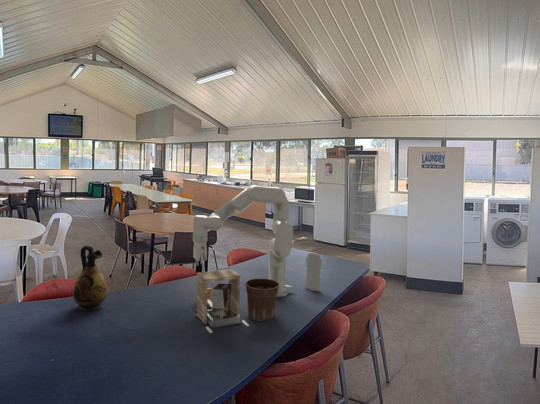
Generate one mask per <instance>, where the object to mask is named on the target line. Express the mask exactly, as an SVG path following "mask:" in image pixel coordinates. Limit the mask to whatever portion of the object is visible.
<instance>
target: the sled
mask: <svg viewBox="0 0 540 404" xmlns="http://www.w3.org/2000/svg"><path fill="white" fill-rule="evenodd" d="M211 300H212V288H211V287H207V307H209V308H210V309H211V310H207V323H208V324H209V325H210V326H211V328H212V329H214V328H220V327H225V326H231V325H236V324H241V323H242V319H241V315H240V314H239V315H238V314H237V313H236V312H235V311H234V310H233V309H232V308H231V317H230V318H225V319H219V320H213V319H212V301H211Z"/></svg>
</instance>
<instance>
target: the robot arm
mask: <svg viewBox="0 0 540 404" xmlns="http://www.w3.org/2000/svg"><path fill="white" fill-rule="evenodd" d="M255 202H256V203H261V204H262V203H263V204H272V206H273V219H272V227H271V228H272V229H271V230H272V232H273V233H274V234H275V235H274V236H275V237H273V238H272V239H271V240H270V241H269V243H268V278H267V279H271V280H274V281H277V282H278V283H279V284H280V286H279V287H278V293H277V296H276V298H282V297H285V296H288V292H289V291H288V290H292V289H293V288H294V286H293V285H288V284H286V272H287V271H286V269H287V258H288V257H289V256H290V255H291V253H292V245H293V238H294V226H292V224H291V222H290V221H289V220H290V203H289V200H288V198H287V196H286V192H285V191H284V189H283V188H280V187H278V186H261V185H257V184H251V185H249V186H247V187H246V188H244V190H242V191H241V192H239V193H238V194H237V195H236V196H234V197H233V198H232V199H231V200H229V201H227V202H226V203H224V204H223V205H222V206H220V207H219V208H217V209H216V210H215V211H213V212H212V213H211V214H210V215H209V216H207V215H205V214H204V215H203V214H197V215H194V216H193V227H192V242H193V248H192V250H193V251H192V252H193V253H192V254H193V255H192V257H193V259H194V260H195V273H196V274H197V273H200V272H203V264H204V261H207V260H208V246H207V242H208V231H209V230H210V231H211V230H212V231H218V230H221V229H222V228H223V226H224V225H223V224H224V222H225V221H227V219H229V218H230V217H233V216H236V215H238V214H241V213H242V212H244V211H245V210H246V209H247V208H248V207H250V206H251V205H252V204H254V203H255Z"/></svg>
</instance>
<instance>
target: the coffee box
mask: <svg viewBox="0 0 540 404" xmlns="http://www.w3.org/2000/svg"><path fill="white" fill-rule="evenodd" d="M211 302H212V316H211V317H212V319H213V320H219V319H225V318H230V317H232V316H231V284H229V283H217V285H216V286H214V287H213V288H212V301H211Z"/></svg>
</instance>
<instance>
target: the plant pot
mask: <svg viewBox="0 0 540 404" xmlns="http://www.w3.org/2000/svg"><path fill="white" fill-rule="evenodd" d="M244 283H245V285H244V286H245V287H246V295H247V313H248V314H247V316H248V317H249V319H250V320H253V321H258V322H263V321H265V322H266V321H270V320H272V319H273V318H274V317H275V311H276V310H275V308H276V301H277V297H276V296H277V293H278V287H279V286H280V284H279V283H278V282H277V281H274V280H271V279H268V278H262V277H261V278H260V277H259V278H251V279H248V280H246V281H245V282H244Z"/></svg>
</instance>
